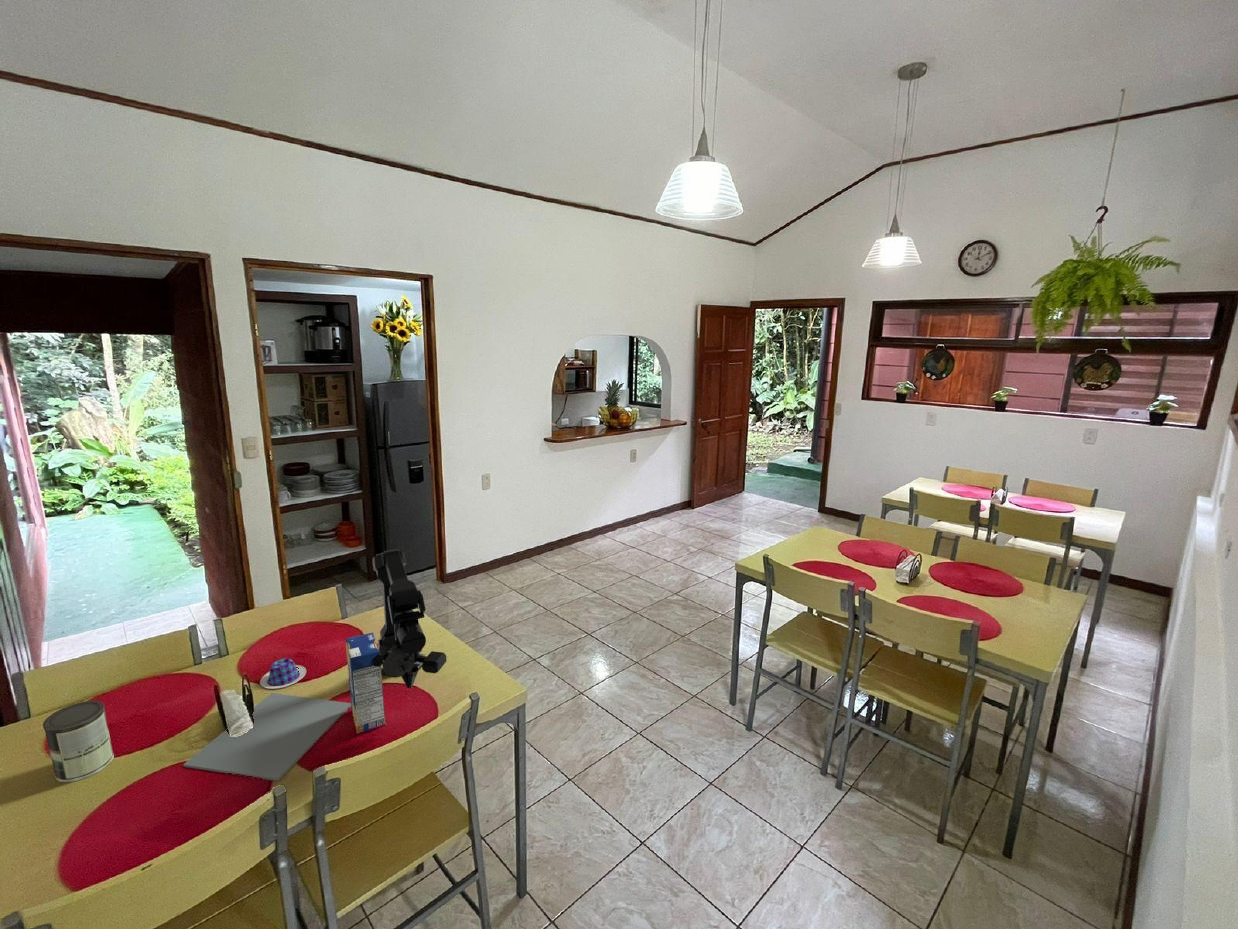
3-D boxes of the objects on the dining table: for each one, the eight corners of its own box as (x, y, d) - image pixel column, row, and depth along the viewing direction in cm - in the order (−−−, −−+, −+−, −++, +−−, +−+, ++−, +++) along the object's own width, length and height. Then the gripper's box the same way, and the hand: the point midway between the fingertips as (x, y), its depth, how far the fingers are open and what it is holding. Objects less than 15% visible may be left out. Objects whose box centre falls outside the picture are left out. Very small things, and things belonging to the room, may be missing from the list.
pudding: (294, 662, 177) (292, 648, 175) (314, 676, 170) (312, 660, 169) (252, 681, 167) (250, 665, 166) (272, 696, 160) (270, 679, 159)
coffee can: (41, 784, 127) (29, 730, 124) (80, 751, 137) (69, 700, 134) (90, 782, 128) (79, 728, 125) (125, 749, 138) (115, 699, 135)
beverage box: (357, 734, 145) (350, 658, 141) (351, 710, 155) (345, 638, 150) (385, 725, 149) (379, 651, 144) (378, 702, 158) (372, 632, 153)
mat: (271, 694, 160) (271, 693, 160) (351, 705, 157) (351, 703, 157) (183, 766, 133) (183, 764, 133) (278, 781, 130) (277, 779, 130)
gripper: (354, 647, 138) (359, 702, 141) (425, 655, 135) (428, 711, 139) (379, 624, 148) (383, 676, 152) (446, 631, 146) (448, 684, 149)
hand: (410, 687), depth 148 cm, fingers closed
